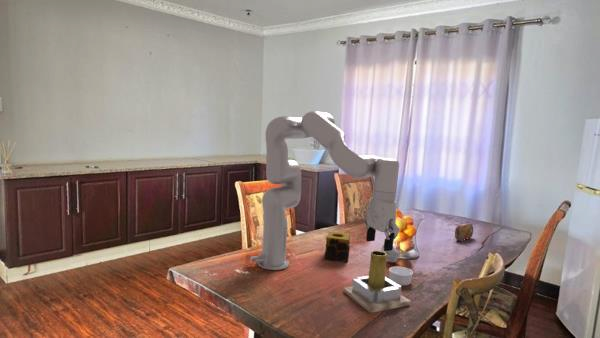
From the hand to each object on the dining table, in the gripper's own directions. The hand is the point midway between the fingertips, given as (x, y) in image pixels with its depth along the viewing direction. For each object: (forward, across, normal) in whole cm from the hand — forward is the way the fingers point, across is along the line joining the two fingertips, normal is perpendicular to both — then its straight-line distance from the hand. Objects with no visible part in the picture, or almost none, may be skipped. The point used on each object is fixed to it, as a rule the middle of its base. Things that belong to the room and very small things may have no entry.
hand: (378, 245), depth 132 cm
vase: (+17, 0, 0) cm, 17 cm away
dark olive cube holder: (+19, -38, +8) cm, 44 cm away
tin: (+19, -42, +89) cm, 101 cm away
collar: (+17, +1, 0) cm, 17 cm away
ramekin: (+19, -8, +18) cm, 28 cm away
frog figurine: (+19, -26, +28) cm, 43 cm away
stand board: (+18, +1, 0) cm, 19 cm away
